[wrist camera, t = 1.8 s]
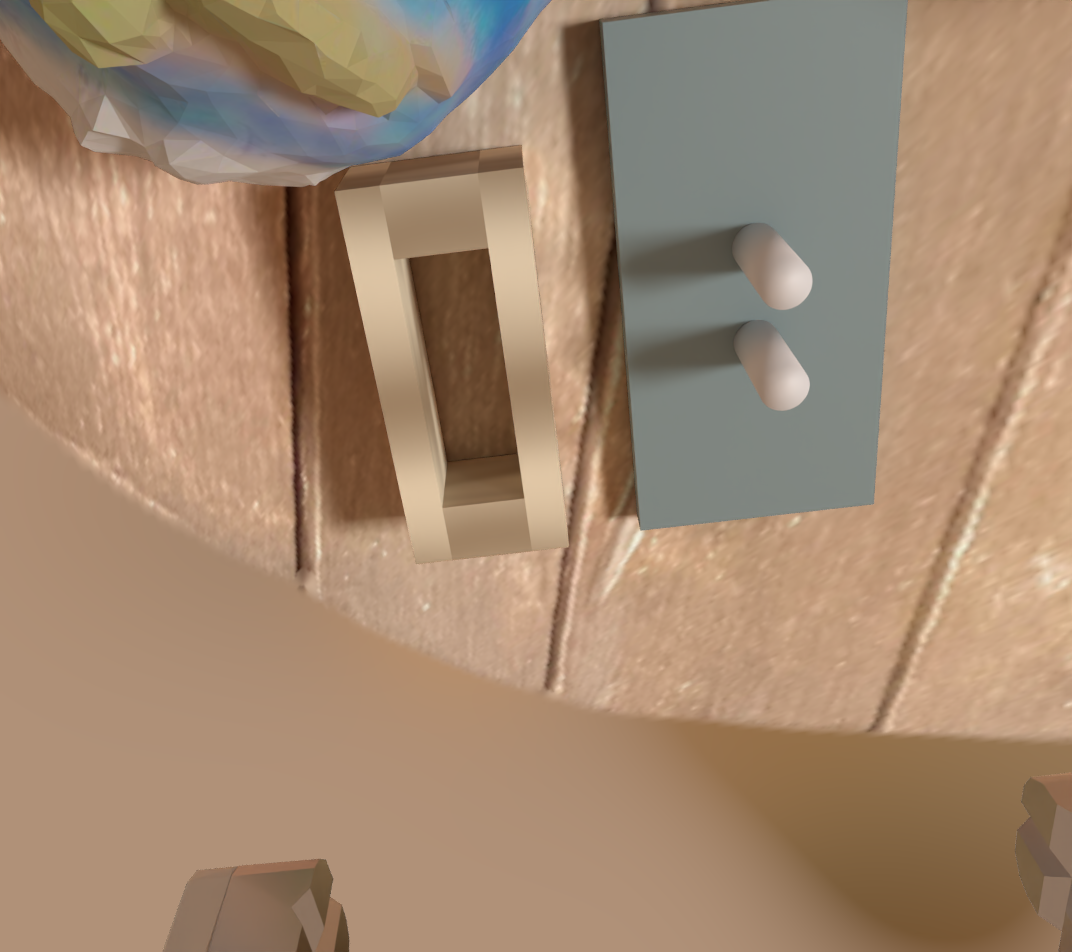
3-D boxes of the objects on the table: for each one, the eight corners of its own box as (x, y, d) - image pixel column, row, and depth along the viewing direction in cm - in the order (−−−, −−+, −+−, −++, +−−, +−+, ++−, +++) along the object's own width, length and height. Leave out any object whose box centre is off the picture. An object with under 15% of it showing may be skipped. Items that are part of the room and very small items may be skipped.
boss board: (599, 19, 26) (615, 35, 22) (895, -20, 26) (964, -11, 22) (637, 515, 34) (654, 591, 30) (864, 489, 34) (911, 563, 30)
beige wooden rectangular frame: (350, 166, 28) (334, 191, 25) (521, 145, 28) (523, 167, 25) (422, 515, 34) (415, 564, 31) (564, 499, 34) (569, 546, 31)
